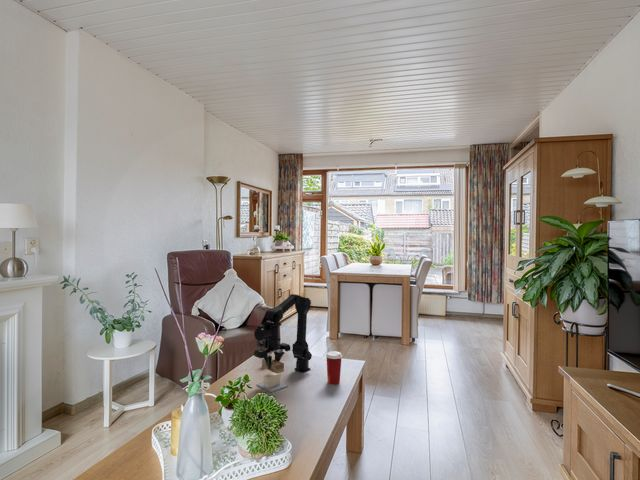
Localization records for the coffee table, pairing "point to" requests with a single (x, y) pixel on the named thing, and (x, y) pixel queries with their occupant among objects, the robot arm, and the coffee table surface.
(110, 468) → the coffee table surface
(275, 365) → the walnut rod
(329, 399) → the coffee table surface
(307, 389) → the coffee table surface
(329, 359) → the coffee cup
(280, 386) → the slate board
